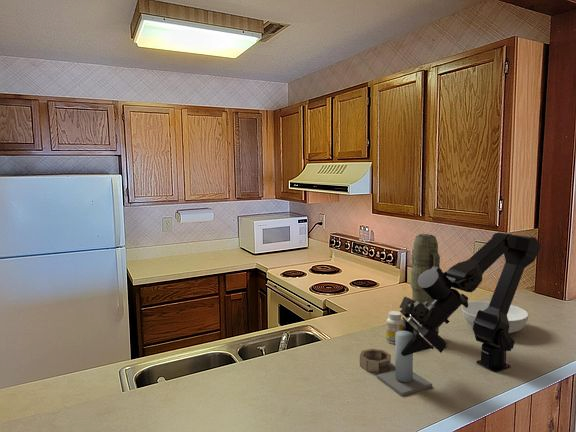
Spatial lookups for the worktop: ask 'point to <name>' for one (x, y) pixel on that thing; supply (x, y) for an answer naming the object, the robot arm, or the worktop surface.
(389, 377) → the gray base plate
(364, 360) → the bronze collar
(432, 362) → the worktop surface
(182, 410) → the worktop surface
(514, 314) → the serving bowl
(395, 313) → the supplement bottle
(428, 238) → the thermos
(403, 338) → the slate peg
